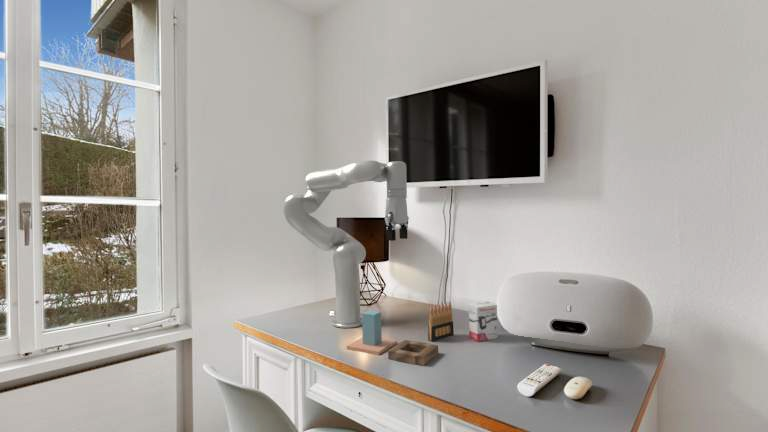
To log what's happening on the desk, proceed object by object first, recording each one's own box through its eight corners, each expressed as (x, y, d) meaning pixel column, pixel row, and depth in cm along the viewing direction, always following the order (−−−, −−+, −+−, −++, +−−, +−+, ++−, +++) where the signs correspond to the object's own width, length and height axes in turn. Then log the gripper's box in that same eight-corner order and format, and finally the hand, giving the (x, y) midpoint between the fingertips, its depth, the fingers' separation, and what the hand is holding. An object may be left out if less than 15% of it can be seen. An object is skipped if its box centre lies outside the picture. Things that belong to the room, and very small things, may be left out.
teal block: (362, 343, 130) (362, 313, 130) (370, 339, 134) (369, 310, 134) (374, 346, 128) (373, 315, 128) (381, 341, 132) (381, 311, 132)
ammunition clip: (431, 341, 134) (431, 306, 134) (428, 340, 136) (427, 305, 135) (453, 335, 141) (453, 301, 140) (450, 334, 142) (449, 300, 142)
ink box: (477, 342, 133) (477, 307, 133) (468, 338, 137) (468, 303, 137) (498, 338, 136) (497, 304, 136) (488, 334, 141) (488, 301, 141)
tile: (346, 348, 129) (346, 345, 129) (366, 338, 139) (366, 335, 139) (378, 355, 123) (378, 351, 123) (396, 343, 133) (396, 340, 133)
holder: (387, 359, 119) (387, 350, 119) (405, 347, 129) (405, 339, 129) (423, 366, 113) (423, 357, 113) (438, 353, 123) (438, 345, 123)
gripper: (398, 195, 161) (399, 237, 161) (376, 194, 146) (377, 241, 146) (415, 194, 157) (416, 238, 157) (394, 193, 142) (395, 241, 142)
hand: (397, 239), depth 151 cm, fingers open, 9 cm apart
